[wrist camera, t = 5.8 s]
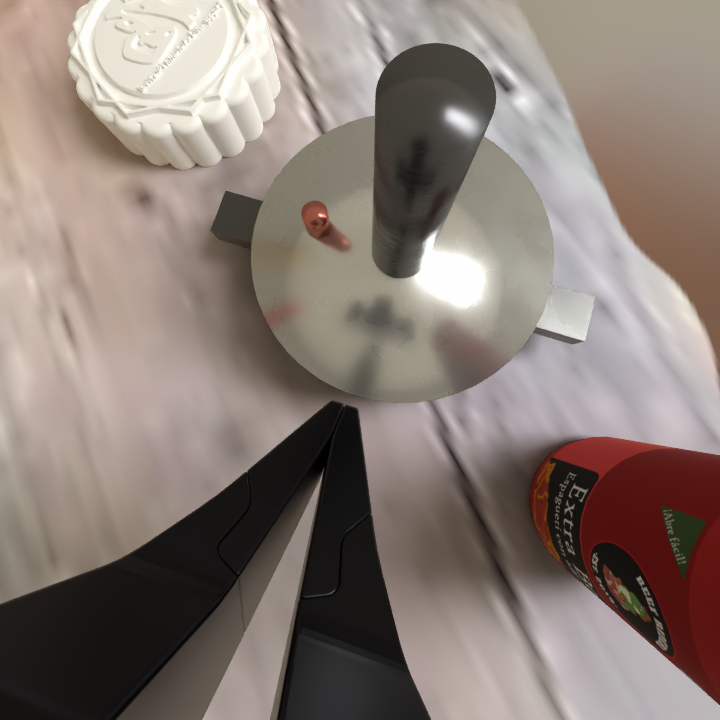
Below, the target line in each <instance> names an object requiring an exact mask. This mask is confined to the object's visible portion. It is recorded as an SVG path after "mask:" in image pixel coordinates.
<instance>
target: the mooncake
mask: <svg viewBox="0 0 720 720" xmlns="http://www.w3.org/2000/svg"><path fill="white" fill-rule="evenodd" d="M72 25H73V28H74V30H72V31H71V33H70V34H69V36H68V39H67V45H68V48H69V51H70V53H71V54H72V55H71V56H70V58H69V60H68V71H69V73H70V75H71V77H72V78H73V79H74V80H75V81H76V82H77V83H76V91H77V94H78V96H79V98H80V99H81V100H82V101H83V102H84V103H85V104H86V105H87V106H88V107H89V109H90V110H91V111H92V112H93V113H94V114H95V115H96V117H97V118H98V119H99V120H100V121H101V122H102V123H103V124H104V125H105V126H106V127H107V128H108V129H109V130H110V131H111V132H112V133H113V134H114V135H115V136H116V137H117V138H118V139H119V140H120V141H121V142H122V143H123V145H124V146H125V147H126V148H127V149H128V150H129V151H131V152H132V153H134V154H136V155H144V156H145V157H146V158H147V160H148V161H149V162H151V163H152V164H154V165H157V166H164V165H167V164H169V163H170V164H171V165H172V166H173V167H175V168H177V169H180V170H186V169H190V168H192V167H193V166H194V165H196V164H198V165H200V166H203V167H210V166H213V165H215V164H217V163H218V162H219V161H220V160H221V158H222V156H224V157H234V156H236V155H238V154H239V153H240V152H241V151H242V150H243V148H244V146H245V142H251V141H254V140H256V139H257V138H258V137H259V136H260V135H261V133H262V131H263V122H266V121H268V120H269V119H270V118H271V117H272V116H273V114H274V112H275V103H274V100H273V99H275V98H276V97H277V96H278V94H279V92H280V81H279V77H278V74H277V71H278V60H277V56H276V53H275V49H274V45H273V42H272V38H271V34H270V31H269V27H268V23H267V19H266V17H265V15H264V13H263V11H262V10H261V9H260V8H259V6H258V2H257V0H90V1H89V3H88V4H85V5H83V6H82V7H80V8H79V9H78V11H77V12H76V15H75V21H74V22H73V23H72Z"/></svg>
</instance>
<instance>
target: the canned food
mask: <svg viewBox="0 0 720 720" xmlns="http://www.w3.org/2000/svg"><path fill="white" fill-rule="evenodd" d="M530 507H531V514H532V518H533V521H534V524H535V527H536V529H537V531H538V533H539V535H540V537H541V539H542V541H543V543H544V545H545V547H546V548H547V549H548V551H549V552H550V553H551V554H552V556H553V557H554V558H555V560H557V561H558V562H559V563H560V564H561V565H562V566H563V567H564V568H566V569H567V570H568V571H569V572H570V573H571V574H572V575H574V576H575V577H576V578H577V579H578V580H579V581H580V582H581V583H583V584H584V585H585V586H586V587H587V588H588V589H589V590H590V591H592V592H593V593H594V594H595V595H596V596H597V597H598V598H599V599H601V600H602V601H603V602H604V603H605V604H606V605H607V606H608V607H610V608H611V609H612V610H613V611H614V612H615V613H616V614H618V615H619V616H620V617H621V618H622V619H623V620H624V621H625V622H627V623H628V624H629V625H630V626H631V627H632V628H633V629H634V630H636V631H637V632H638V633H639V634H640V635H641V636H642V637H643V638H645V639H646V640H647V641H648V642H649V643H650V644H651V645H652V646H654V647H655V648H656V649H657V650H658V651H659V652H660V653H662V654H663V655H664V656H665V657H666V658H667V659H668V660H669V661H671V662H672V663H673V664H674V665H675V666H676V667H677V668H678V669H680V670H681V671H682V672H683V673H684V674H685V675H686V676H687V677H689V678H690V679H691V680H692V681H693V682H694V683H695V684H697V685H698V686H699V687H700V688H701V689H702V690H703V691H704V692H706V693H707V694H708V695H709V696H710V697H711V698H712V699H713V700H715V701H716V702H717V703H718V704H719V705H720V455H714V454H708V453H702V452H696V451H690V450H684V449H678V448H672V447H666V446H660V445H654V444H648V443H642V442H636V441H630V440H624V439H618V438H611V437H592V438H587V439H583V440H579V441H575V442H571V443H569V444H566V445H564V446H562V447H560V448H558V449H557V450H556V451H554V452H553V453H552V454H550V455H549V456H548V457H547V458H546V459H545V461H544V462H543V463H542V464H541V465H540V467H539V469H538V471H537V472H536V474H535V477H534V480H533V483H532V486H531V493H530Z"/></svg>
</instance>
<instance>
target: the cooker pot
mask: <svg viewBox="0 0 720 720" xmlns="http://www.w3.org/2000/svg"><path fill="white" fill-rule="evenodd" d="M262 203H263V201H260V200H256V199H253V198H249V197H246V196H242V195H239V194H235V193H232V192H228V191H225V194H224V196H223V199H222V202H221V204H220V207H219V210H218V212H217V215H216V217H215V220H214V223H213V225H212V228H211V231H212V233H213V234H214V235H215V236H216V237H217V238H218V239H219V240H223V241H226V242H229V243H233V244H236V245H239V246H243V247H246V248H250V249H251V244H252V238H253V231H254V226H255V223H256V219H257V216H258V213H259V209H260V207H261V205H262ZM595 298H596V297H594V296H590V295H587V294H583V293H580V292H576V291H573V290H569V289H566V288H562V287H559V286H556V285H552V284H551V289H550V294H549V297H548V300H547V303H546V306H545V309H544V312H543V314H542V316H541V318H540V320H539V322H538V324H537V326H536V328H535V330H534V331H533V333H536V334H539V335H542V336H546V337H549V338H553V339H556V340H559V341H563V342H566V343H569V344H576V343H580V342H584V341H585V338H586V334H587V330H588V326H589V322H590V318H591V314H592V310H593V306H594V302H595Z"/></svg>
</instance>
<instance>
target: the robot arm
mask: <svg viewBox="0 0 720 720" xmlns="http://www.w3.org/2000/svg"><path fill="white" fill-rule="evenodd" d="M323 471H324V472H323ZM322 473H323V476H322ZM321 476H322V481H321V485H320V490H319V495H318V499H317V504H316V509H315V513H314V518H313V522H312V527H311V532H310V536H309V541H308V546H307V550H306V555H305V560H304V564H303V569H302V574H301V578H300V583H299V588H298V592H297V597H296V602H295V606H294V611H293V616H292V620H291V625H290V630H289V634H288V639H287V644H286V649H285V653H284V657H283V662H282V667H281V671H280V676H279V681H278V685H277V690H276V695H275V699H274V704H273V709H272V713H271V718H270V720H431V718H430V716H429V714H428V712H427V709H426V707H425V705H424V703H423V701H422V698H421V696H420V694H419V692H418V690H417V688H416V685H415V683H414V681H413V679H412V677H411V674H410V672H409V669H408V666H407V663H406V660H405V657H404V654H403V651H402V648H401V644H400V641H399V637H398V633H397V630H396V626H395V622H394V618H393V614H392V610H391V606H390V602H389V598H388V594H387V590H386V586H385V582H384V578H383V574H382V569H381V565H380V560H379V556H378V551H377V545H376V539H375V532H374V525H373V518H372V515H371V513H372V511H371V504H370V496H369V488H368V481H367V473H366V465H365V457H364V450H363V442H362V434H361V427H360V419H359V411H358V409H357V408H355V407H352V406H349V405H345V406H344V404H343V403H340V402H337V401H330V402H329V403H328V404H326V405H325V406H324V407H323V408H322V409H320V410H319V411H318V412H317V413H316V414H314V415H313V416H312V417H311V418H310V419H309V420H307V421H306V422H305V423H304V424H303V425H301V426H300V427H299V428H298V429H297V430H295V431H294V432H293V433H292V434H291V435H289V436H288V437H287V438H286V439H285V440H283V441H282V442H281V443H280V444H279V445H277V446H276V447H275V448H274V449H273V450H271V451H270V452H269V453H268V454H267V455H265V456H264V457H263V458H262V459H261V460H259V461H258V462H257V463H256V464H255V465H253V466H252V467H251V468H250V469H249V470H248V471H247V472H245V473H244V474H242V475H241V476H240V477H239V478H238V479H236V480H235V481H234V482H233V483H232V484H230V485H229V486H228V487H226V488H225V489H224V490H223V491H221V492H220V493H219V494H218V495H216V496H215V497H213V498H212V499H211V500H209V501H208V502H206V503H205V504H204V505H202V506H201V507H199V508H198V509H196V510H195V511H193V512H192V513H190V514H189V515H188V516H186V517H185V518H183V519H182V520H180V521H179V522H177V523H176V524H174V525H173V526H171V527H170V528H168V529H167V530H165V531H164V532H162V533H161V534H159V535H158V536H156V537H155V538H153V539H152V540H150V541H149V542H147V543H146V544H144V545H143V546H141V547H140V548H138V549H136V550H135V551H133V552H131V553H130V554H128V555H126V556H124V557H122V558H120V559H118V560H116V561H114V562H112V563H109V564H107V565H104V566H102V567H99V568H96V569H94V570H91V571H88V572H86V573H83V574H80V575H78V576H75V577H72V578H69V579H67V580H64V581H61V582H59V583H56V584H53V585H50V586H48V587H45V588H42V589H40V590H37V591H34V592H31V593H29V594H26V595H23V596H21V597H18V598H15V599H13V600H10V601H7V602H4V603H2V604H0V720H202V719H203V717H204V715H205V713H206V710H207V708H208V706H209V704H210V702H211V700H212V698H213V696H214V694H215V692H216V690H217V688H218V686H219V684H220V682H221V680H222V678H223V676H224V674H225V672H226V670H227V668H228V666H229V664H230V662H231V660H232V658H233V655H234V653H235V651H236V649H237V647H238V645H239V643H240V641H241V639H242V637H243V635H244V632H245V631H246V629H247V627H248V625H249V623H250V621H251V619H252V617H253V615H254V613H255V611H256V608H257V606H258V604H259V602H260V600H261V598H262V596H263V594H264V592H265V590H266V588H267V586H268V584H269V582H270V580H271V578H272V576H273V574H274V572H275V570H276V568H277V566H278V564H279V562H280V560H281V558H282V555H283V553H284V551H285V549H286V547H287V545H288V543H289V541H290V539H291V537H292V535H293V533H294V531H295V529H296V527H297V525H298V523H299V521H300V519H301V517H302V515H303V513H304V511H305V509H306V507H307V505H308V502H309V500H310V498H311V496H312V494H313V492H314V490H315V488H316V486H317V484H318V482H319V480H320V478H321Z"/></svg>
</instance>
